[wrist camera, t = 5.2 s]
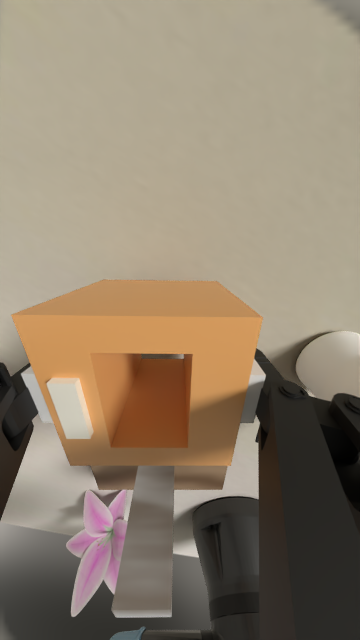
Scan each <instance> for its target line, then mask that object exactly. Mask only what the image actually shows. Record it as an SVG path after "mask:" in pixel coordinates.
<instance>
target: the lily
mask: <svg viewBox="0 0 360 640" xmlns="http://www.w3.org/2000/svg"><path fill="white" fill-rule="evenodd" d="M126 496H127V490H122V491H121V492H120V493H119V494H118V495H117V496H116V497H115V499H114V500H113V501H112V502H111V504H110V505H109V507H108V508H107V507H106V505H105V504H104V503H103V502H102V501H101V500H100V499H99V498H98V497H97V496H96V495H95V494H94V493H93V492H92V491H91V490H87V491H86V493H85V498H84V512H83V521H84V528H85V529H83V530H82V531H80V532H79V533H77V534H76V535H75V536H73V537H72V538H71V539H70V540H69V541H68V542H67V543H66V548H67V549H68V550H69V551H70V552H71V553H72V554H74V555H75V556H77V557H79V558H82V559H81V562H80V565H79V568H78V572H77V576H76V580H75V586H74V591H73V597H72V604H71V615H72V617H75V616H76V615H77V614H78V613H79V612H80V611H81V610H82V608H83V607H84V606H85V605H86V604H87V602H88V601H89V600H90V598H91V597H92V596H93V594H94V593H95V592H96V590H97V589H98V587H99V585H100V583H101V582H102V580H103V578H104V581H105V583H106V584H107V586H108V588H109V589H110V590H111V592H112V593H113V594H115V588H116V583H117V577H118V572H119V567H120V561H121V556H122V551H123V545H124V540H125V534H126V529H127V524H128V522H127V521H125V520H123V519H124V513H125V505H126Z"/></svg>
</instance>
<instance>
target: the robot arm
mask: <svg viewBox="0 0 360 640" xmlns="http://www.w3.org/2000/svg"><path fill="white" fill-rule="evenodd" d="M37 414H39V417H40V419H41V421H42V422H53V420H52V418H51V415H50V412H49V410H48V407H47V405H46V402H45V400H44V397H43V395H42V392H41V389H40V387H39V384H38V382H37V379H36V377H35V374H34V372H33V369H32V367H31V364H30V363H29V364H27V365H26V366H25V367H23V368H22V369H21V370H19V371H18V372H17V373H15V374H14V375H13V376H10V374H9V372H8V370H7V368H6V366H5V364H4V363H1V362H0V520H1V517H2V514H3V512H4V509H5V506H6V503H7V501H8V498H9V495H10V492H11V490H12V487H13V484H14V481H15V479H16V476H17V473H18V470H19V468H20V465H21V462H22V459H23V457H24V454H25V451H26V448H27V446H28V443H29V440H30V437H31V435H32V432H33V427H34V425H33V423H32V420H33V418H34V417H35V416H36V415H37ZM255 415H257V417H258V419H259V421H260V426H259V430H258V433H257V437H256V440H255V442H257V443H258V441H259V500H255V499H250V498H225V499H220V500H215V501H212V502H209V503H207V504H205V505H203V506H201V507H199V508H198V509H197V510H196V511H195V512H194V514H193V533H194V539H195V543H196V547H197V551H198V555H199V559H200V563H201V566H202V570H203V574H204V578H205V582H206V586H207V590H208V598H209V609H210V621H211V630H146V629H145V627H142V628H141V629H140V630H136V631H128V632H120V633H117V634H115V635H114V636H113V637H112V638H111V639H110V640H360V398H359V397H357V396H354V395H351V394H346V393H337V394H335V395H334V396H333V398H332V400H331V401H327V400H323V399H319V398H315V397H311V396H309V395H308V393H307V392H306V391H305V390H304V389H303V388H302V387H300V386H298V385H297V384H295V383H292V382H290V381H286V380H284V379H283V377H282V376H281V375H280V374H279V372H278V371H277V370H276V369H275V368H274V366H273V365H272V364H271V363H270V361H269V360H268V359H266V357H265V355H264V354H263V353H262V352H261V351H260V350H258V349H257V348H256V352H255V356H254V361H253V365H252V370H251V375H250V379H249V384H248V388H247V393H246V398H245V402H244V407H243V411H242V416H241V421H240V423H254V419H255Z"/></svg>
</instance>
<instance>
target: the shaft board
mask: <svg viewBox="0 0 360 640" xmlns="http://www.w3.org/2000/svg"><path fill="white" fill-rule="evenodd" d="M91 469H92V471H93V474H94V477H95V480H96V483H97V486H98V488H99V490H134V491H133V497H132V502H131V507H130V513H129V518H128V524H127V529H126V534H125V540H124V545H123V551H122V556H121V561H120V567H119V572H118V577H117V583H116V588H115V594H114V600H113V604H112V612H113V613H114V615H115V616H116V617H171V613H172V611H171V609H172V561H173V514H174V490H222V488H223V484H224V480H225V475H226V471H227V466H91Z"/></svg>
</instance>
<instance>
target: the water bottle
mask: <svg viewBox="0 0 360 640" xmlns="http://www.w3.org/2000/svg"><path fill="white" fill-rule="evenodd" d="M296 373H297V376H298V378H299V379H300V381H301V382H302V383H303V384H304V385H305V386H306V387H307V389H308V390H309V391H310V392H311V393H312V394H313V395H314V396H315V397H317V398H319V399H323V400H327V401H331V400H332V398H333V396H334V395H335V394H337V393H346V394H351V395H354V396H357V397H359V398H360V334H358V333H354V332H350V331H337V332H332V333H328V334H325V335H323V336H320V337H318V338H316V339H315V340H313V341H312V342H310V343H309V344H308V345H307V346H306V347H305V348H304V349H303V350H302V352H301V353H300V355H299V357H298V359H297V362H296Z"/></svg>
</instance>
